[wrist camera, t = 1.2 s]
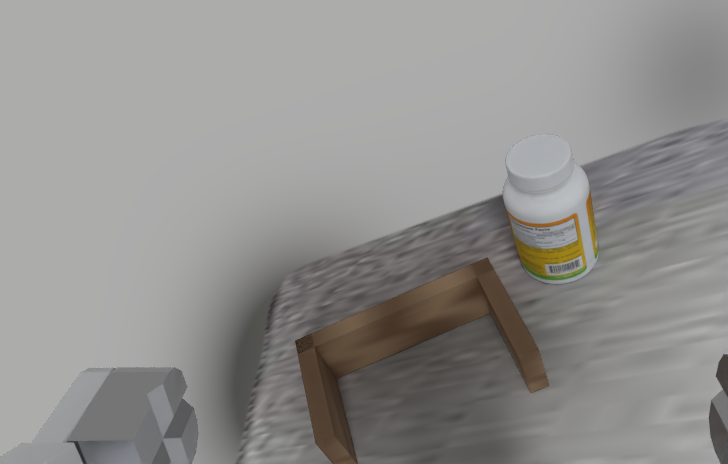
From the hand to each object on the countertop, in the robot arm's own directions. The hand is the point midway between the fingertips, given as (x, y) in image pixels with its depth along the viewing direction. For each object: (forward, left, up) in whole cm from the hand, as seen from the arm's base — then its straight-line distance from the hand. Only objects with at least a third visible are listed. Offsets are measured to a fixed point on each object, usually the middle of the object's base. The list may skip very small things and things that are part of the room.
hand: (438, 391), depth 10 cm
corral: (+2, -20, -28) cm, 35 cm away
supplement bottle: (-10, -25, -28) cm, 39 cm away
